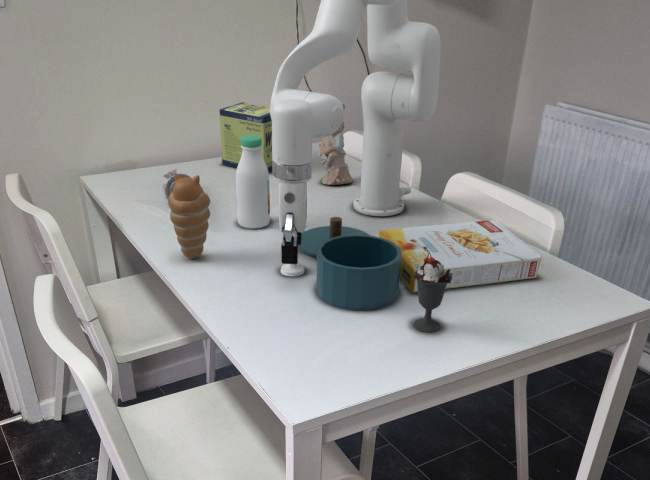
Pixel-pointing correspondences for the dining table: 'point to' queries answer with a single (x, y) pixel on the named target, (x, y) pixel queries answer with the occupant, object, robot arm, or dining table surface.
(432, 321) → the sundae
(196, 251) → the cat ice cream
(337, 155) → the figurine
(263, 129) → the protein box
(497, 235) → the cereal box
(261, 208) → the milk bottle
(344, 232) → the tin lid
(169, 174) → the spaceship
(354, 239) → the tin
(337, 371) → the dining table surface
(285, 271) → the chess piece
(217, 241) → the dining table surface
